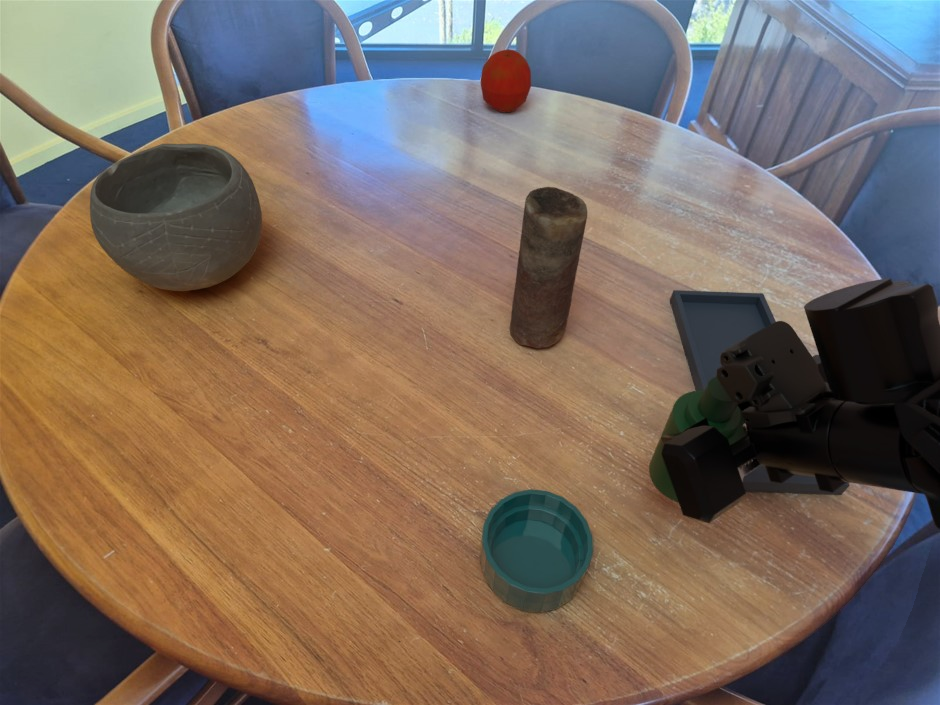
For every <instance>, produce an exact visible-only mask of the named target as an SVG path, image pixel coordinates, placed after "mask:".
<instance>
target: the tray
mask: <svg viewBox="0 0 940 705" xmlns="http://www.w3.org/2000/svg"><path fill="white" fill-rule="evenodd" d="M669 303H670V307H671V309H672V314H673V317H674V319H675V323H676V327H677V330H678V331H677V332H678V334H679V338H680V341H681V344H682V347H683V351H684V355H685V357H686V361H687V366H688V368H689V371H690V375H691V378H692V383H693V385H694V388H695V391H705V388H706V386H707V384H708V382H709V380H710V379H712V378H714V377H717V375H716V374H717V369H718V368H720V367H722V365H721V362H720V356H721V354H722V352H723V351H725V350H727V349H728V348H730V347H732V346H733V345H735V344H737V343H738V342H740V341H742V340H744V339H745V338H747V337H749V336H750V335H752V334H754V333H756V332H758V331H760V330H762V329H763V328H765V327H767V326H769V325H771V324H773V323H775V322H777V321H776V318H775V316H774V314H773V312H772V309H771V308H770V305H769V303H768V300H767V299H766V297H765V294H764V292H735V291H711V290H710V291H709V290H708V291H707V290H706V291H705V290H679V289H678V290H677V289H673V290H672V293H671V296H670V298H669ZM743 485H744V488H745V491H746V493H748V492H750V493H770V494H771V493H773V494H805V495H832V496H833V495H834V496H842V495H843V493H845V492H846V491H847V489H848V488H849V487H850V486H851V485H850V483H849V482H847V483H845V484H844V485H843V486H841V487H840V488H839V489H837V490H836V491H835V492H833V493H832V492H827V491H821V490H819V487H818V484H817V481H816V478H815V477H811V476H804V475H798V474H795V475H793V476H792V477H790V478H789V479H788V480H786V481H785V482H783V483H782V484H781V483H776V482H770V479H769V476H768V473H767V470H766V467H765V465H761V466H759V467H758V468H756V469H755V470H753V471H752V472H750V473H749V474H747V475H746V476H744V477H743Z"/></svg>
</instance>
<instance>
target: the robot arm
mask: <svg viewBox="0 0 940 705" xmlns="http://www.w3.org/2000/svg"><path fill="white" fill-rule="evenodd" d="M803 309H804V312H805V315H806V318H807V322H808V325H809V327H810V331H811V335H812V338H813V342H814V344H815V348H816V350H817V353H818V354H814V355H813V356H812V354H811V353H810V351H809V349H808V348H807V346H806V345H805V344H804V342H803V341H802V339H801V338H800V337H799V335H798V334H797V332H796V330H795V329H794V328H793V326H792V325H790V323H788V322H787V321H785V320H777V321H776V322H775V323H773V324H771V325H769V326H767V327H765V328H763V329H762V330H760V331H758V332H756V333H754V334H752V335H750V336H749V337H747V338H745V339H744V340H742V341H740V342H738V343H737V344H735V345H733V346H732V347H730V348H728V349H727V350H725V351H723V352H722V354H721V356H720V362H721V365H722V367H720V368H718V369H717V374H716V375H717V379H718V380H719V382H720V383H721V385H722V386H723V388H724V389H725V391H726V393H727V394H728V396H729V397H730V399H731V400H732V401H733V402H735V403H737V404H738V407H739V408H740V409H741V410H742V415H743V417H744V420H745V423H744V424H743V429H744V432H745V434H746V436H744V437H743V438H741V439H740V440H738V441H736V442H735V443H733V444H732V445H730V444H729V441H728V439H727V438H726V437H725V436H724V435H723V434H722V433H721V432H720V431H719V430H718V429H716V428H715V427H714V426H709V423H708V420H707V418H704V419H702V420H701V421H699V422H697V423H696V424H694V425H692V426H691V427H689V428H687V429H685V430H684V431H683V432H682V433H681V434H670V435H664V436H662V437H661V436H660V437H661V441H662V443H663V449H662V453H661V455H662V457H663V460H664V463H665V466H666V469H667V471H668V474H669V477H670V480H671V483H672V485H673V488H674V491H675V494H676V497H677V499H678V502H679V503H678V502H677V503H678V505H679V508H680V511H681V513H682V516H684V517H686V518H690V519H691V520H695V521H699V522H702V523H704V524H705V523H706V524H711V523H713V521H715V520H716V519H718V518H720V517H721V516H722V515H724V514H725V513H727V512H728V511H730V510H731V509H733V508H734V507H736V506H737V505H738V504H740V503H741V502H742V501H743V499H744V498H745V496H746V495H747V492H746V491H745V488H744V485H743V477H744V476H746V475H747V474H749V473H750V472H752V471H753V470H755V469H756V468H758V467H759V466H761V465H765V467H766V470H767V473H768V476H769V479H770V482H776V483H781V484H782V483H783V482H785V481H786V480H788V479H789V478H790V477H792V476H793V475H795V474H798V475H804V476H811V477H815V478H816V481H817V484H818V487H819V490H821V491H827V492H832V493H833V492H835V491H836V490H837V489H839V488H840V487H841V486H843V485H844V484H845V483H847V482H849V484H856V485H863V486H869V487H875V488H882V489H889V490H895V491H900V492H907V493H914V494H921V495H924V497H925V499H926V502H927V505H928V509H929V512H930V515H931V518H932V522H933V525H934V526H935V528H937V529H938V530H940V321H939V304H938V301H937V296H936V293H935V290H934V286H932V285H931V284H930V283H923V284H915V285H912V284H911V282H909V281H908V280H892V278H891V277H888V278H880V279H877V280H876V279H875V280H870V281H865V282H861V283H856V284H852V285H849V286H846V287H842V288H839V289H836V290H833V291H830V292H828V293H825V294H822V295H820V296H818V297H815V298H814V299H812V300H810V301H808V302H807V303H805V304H804V306H803Z"/></svg>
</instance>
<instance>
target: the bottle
mask: <svg viewBox="0 0 940 705" xmlns="http://www.w3.org/2000/svg"><path fill="white" fill-rule="evenodd" d="M704 418H707V420H708V423H709V426H714V427H715V428H716V429H718V430H719V431H720V432H721V433H722V434H723V435H724V436H725V437H726V438H727V439H728V441H729V444H730V445H732V444H733V443H735V442H736V441H738V440H740V439H741V438H743V437H744V436H746V434H745V432H744V429H743V424H744V423H745V420H744V417H743V415H742V410H741V409H740V408H739V407H738V404H737V403H735V402H733V401H732V400H731V399H730V397H729V396H728V394H727V393H726V391H725V389H724V388H723V386H722V385H721V383H720V382H719V380H718V379H717V377H714V378H712V379H710V380H709V382H708V384H707V386H706V388H705V391H696V390H691V391H689V392H686V393H684V394H682V395H680V396H679V397H678V398H677V399H676V400H675V402H674V404H673V406H672V409H671V411H670V413H669V415H668V418H667V420H666V423H665V425H664V427H663V430H662V432H661V435H660V438H659V439H658V441H657V444H656V447H655V449H654V451H653V454H652V456H651V459H650V462H649V465H648V474H649V477H650V479H651V482H652V484H653V485H654V487H655V488H656V489H657V491H659V492H660V494H661V495H663V496H665V498H667V499H669V500H671V501H674V502H675V503H677V504H679V502H678V499H677V497H676V494H675V491H674V488H673V485H672V483H671V480H670V477H669V474H668V471H667V469H666V466H665V463H664V460H663V457H662V455H661V453H662V449H663V443H662V441H661V437H662V436H664V435H670V434H681V433H682V432H683V431H684V430H685V429H687V428H689V427H691V426H692V425H694V424H696V423H697V422H699V421H701V420H702V419H704Z"/></svg>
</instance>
